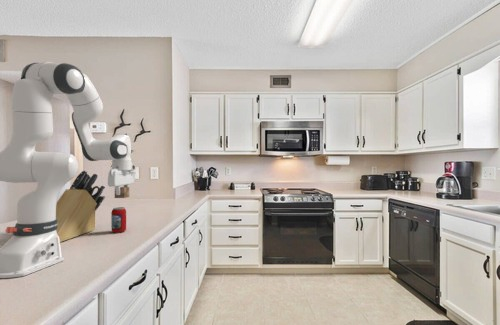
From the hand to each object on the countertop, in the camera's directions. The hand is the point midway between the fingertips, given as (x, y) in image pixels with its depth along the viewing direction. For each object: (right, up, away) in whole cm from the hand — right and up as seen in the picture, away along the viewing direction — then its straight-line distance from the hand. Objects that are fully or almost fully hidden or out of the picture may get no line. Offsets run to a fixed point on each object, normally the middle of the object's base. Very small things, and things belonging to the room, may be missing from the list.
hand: (122, 194), depth 142 cm
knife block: (-22, -19, -4) cm, 29 cm away
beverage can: (-2, -19, +1) cm, 19 cm away
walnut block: (0, -2, 0) cm, 2 cm away
